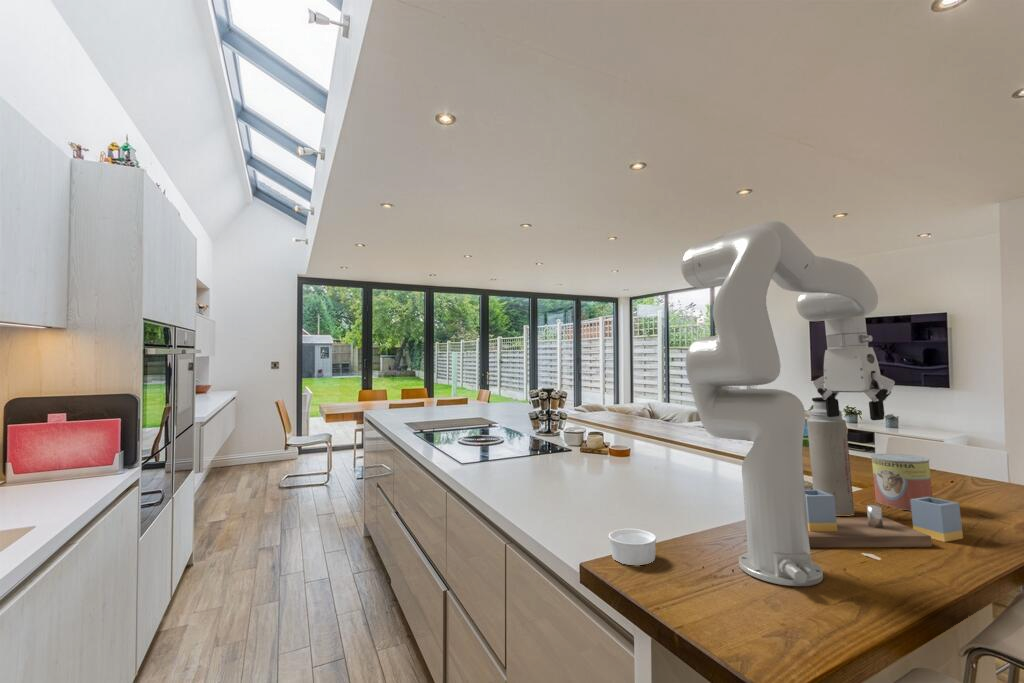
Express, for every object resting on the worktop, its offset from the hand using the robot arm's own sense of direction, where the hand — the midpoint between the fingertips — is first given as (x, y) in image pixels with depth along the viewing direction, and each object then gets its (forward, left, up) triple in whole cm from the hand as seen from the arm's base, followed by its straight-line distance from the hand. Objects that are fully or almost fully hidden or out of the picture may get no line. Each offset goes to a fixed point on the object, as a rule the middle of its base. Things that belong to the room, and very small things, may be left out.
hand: (854, 418), depth 101 cm
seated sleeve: (-6, +14, -22) cm, 26 cm away
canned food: (+16, -20, -24) cm, 35 cm away
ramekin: (-17, +54, -24) cm, 61 cm away
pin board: (-6, +8, -24) cm, 26 cm away
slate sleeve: (-6, -10, -24) cm, 27 cm away
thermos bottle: (+11, 0, -24) cm, 26 cm away
